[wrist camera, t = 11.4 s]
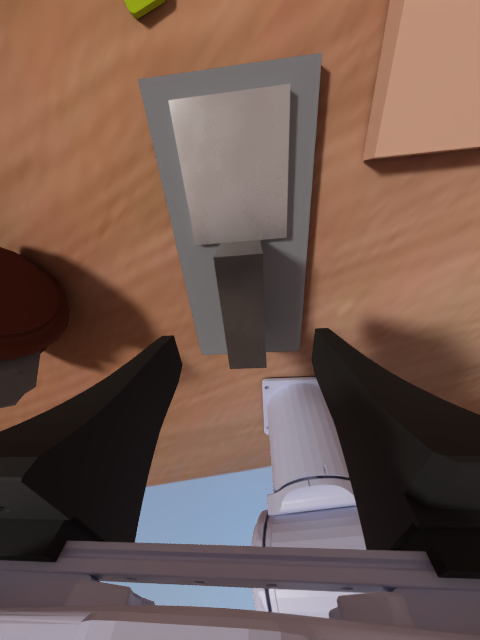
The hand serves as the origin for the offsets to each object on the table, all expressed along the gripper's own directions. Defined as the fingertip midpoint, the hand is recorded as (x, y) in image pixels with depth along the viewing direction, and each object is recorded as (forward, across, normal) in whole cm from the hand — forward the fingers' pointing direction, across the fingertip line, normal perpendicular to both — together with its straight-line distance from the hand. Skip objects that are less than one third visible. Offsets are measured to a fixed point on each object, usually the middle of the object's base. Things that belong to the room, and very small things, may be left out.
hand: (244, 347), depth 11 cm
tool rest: (+7, 0, -3) cm, 8 cm away
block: (+6, -11, -8) cm, 15 cm away
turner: (+6, 0, -3) cm, 7 cm away
